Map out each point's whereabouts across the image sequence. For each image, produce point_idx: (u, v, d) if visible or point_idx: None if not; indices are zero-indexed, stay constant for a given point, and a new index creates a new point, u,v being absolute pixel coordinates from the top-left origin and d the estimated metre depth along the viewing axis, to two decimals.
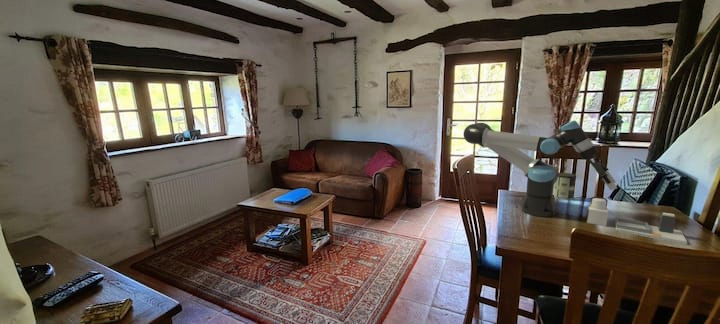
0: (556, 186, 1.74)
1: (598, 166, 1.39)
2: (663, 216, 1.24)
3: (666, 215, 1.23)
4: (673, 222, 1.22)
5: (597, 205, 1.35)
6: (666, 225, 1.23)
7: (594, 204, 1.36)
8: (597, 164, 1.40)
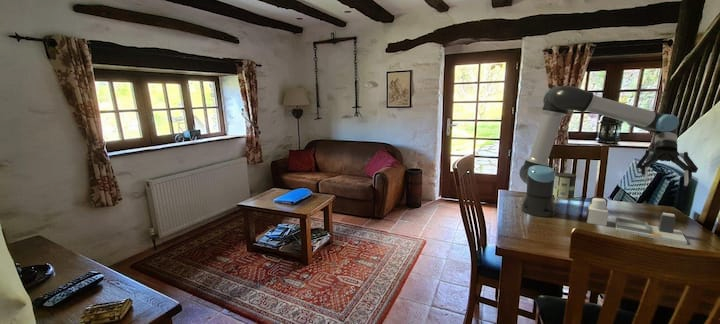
0: (556, 186, 1.74)
1: None
2: (663, 216, 1.24)
3: (666, 215, 1.23)
4: (673, 222, 1.22)
5: (597, 205, 1.35)
6: (666, 225, 1.23)
7: (594, 204, 1.36)
8: None
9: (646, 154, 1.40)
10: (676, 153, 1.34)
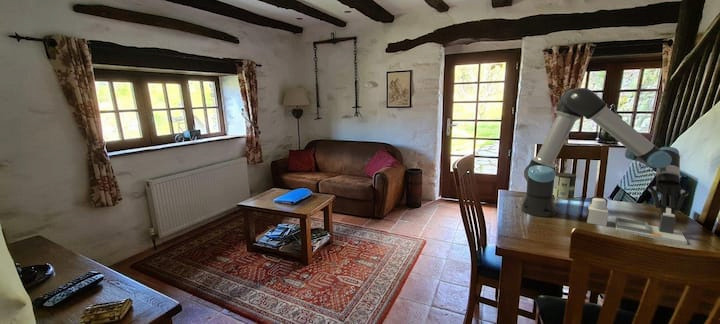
0: (556, 186, 1.74)
1: (683, 200, 1.28)
2: (663, 216, 1.23)
3: (666, 215, 1.23)
4: (673, 222, 1.22)
5: (597, 205, 1.35)
6: (666, 225, 1.23)
7: (594, 204, 1.36)
8: (683, 199, 1.29)
9: (653, 191, 1.34)
10: (678, 188, 1.30)
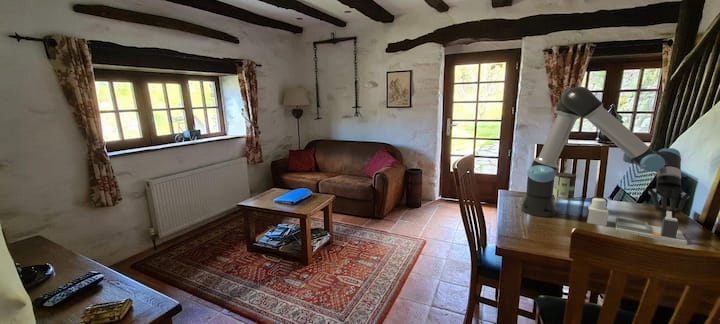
0: (556, 186, 1.74)
1: (684, 203, 1.24)
2: (665, 221, 1.19)
3: (668, 219, 1.18)
4: (676, 227, 1.17)
5: (597, 205, 1.35)
6: (668, 230, 1.19)
7: (594, 204, 1.36)
8: (684, 201, 1.25)
9: (653, 193, 1.30)
10: (679, 190, 1.26)
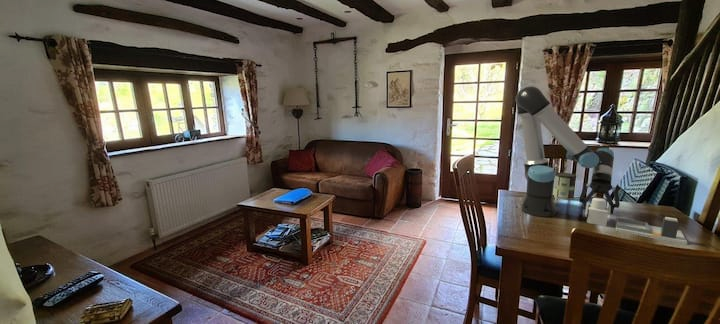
0: (556, 186, 1.74)
1: None
2: (665, 221, 1.19)
3: (669, 220, 1.18)
4: (676, 227, 1.17)
5: (597, 205, 1.35)
6: (669, 230, 1.19)
7: (593, 204, 1.36)
8: (617, 195, 1.37)
9: (584, 187, 1.44)
10: (609, 186, 1.40)
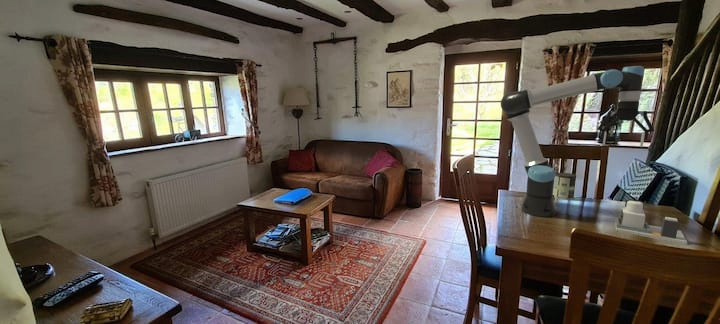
0: (556, 186, 1.74)
1: (648, 120, 1.35)
2: (665, 221, 1.19)
3: (669, 220, 1.18)
4: (676, 227, 1.17)
5: (633, 208, 1.27)
6: (669, 230, 1.19)
7: (629, 207, 1.28)
8: (647, 118, 1.36)
9: (608, 116, 1.43)
10: (636, 113, 1.36)
